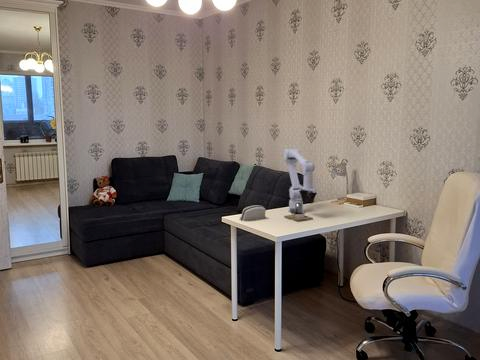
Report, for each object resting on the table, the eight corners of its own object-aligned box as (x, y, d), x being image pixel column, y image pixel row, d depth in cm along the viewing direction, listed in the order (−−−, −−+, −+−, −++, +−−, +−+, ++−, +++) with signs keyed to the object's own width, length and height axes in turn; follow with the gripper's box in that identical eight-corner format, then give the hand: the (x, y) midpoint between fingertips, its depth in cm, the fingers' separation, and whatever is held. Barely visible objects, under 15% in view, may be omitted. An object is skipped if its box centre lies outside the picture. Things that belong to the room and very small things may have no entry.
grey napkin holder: (261, 216, 278) (263, 203, 274) (264, 220, 274) (267, 206, 270) (238, 219, 270) (241, 205, 265) (242, 223, 266) (245, 209, 262)
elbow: (298, 215, 273) (298, 202, 272) (303, 217, 270) (303, 203, 269) (289, 217, 269) (289, 204, 268) (293, 218, 266) (293, 205, 264)
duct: (284, 217, 273) (284, 212, 273) (299, 215, 279) (299, 210, 279) (297, 221, 262) (297, 216, 261) (313, 219, 268) (313, 213, 267)
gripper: (296, 180, 276) (295, 201, 278) (310, 183, 264) (309, 204, 266) (304, 179, 280) (304, 199, 281) (319, 182, 267) (318, 203, 269)
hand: (307, 202), depth 274 cm, fingers open, 7 cm apart
